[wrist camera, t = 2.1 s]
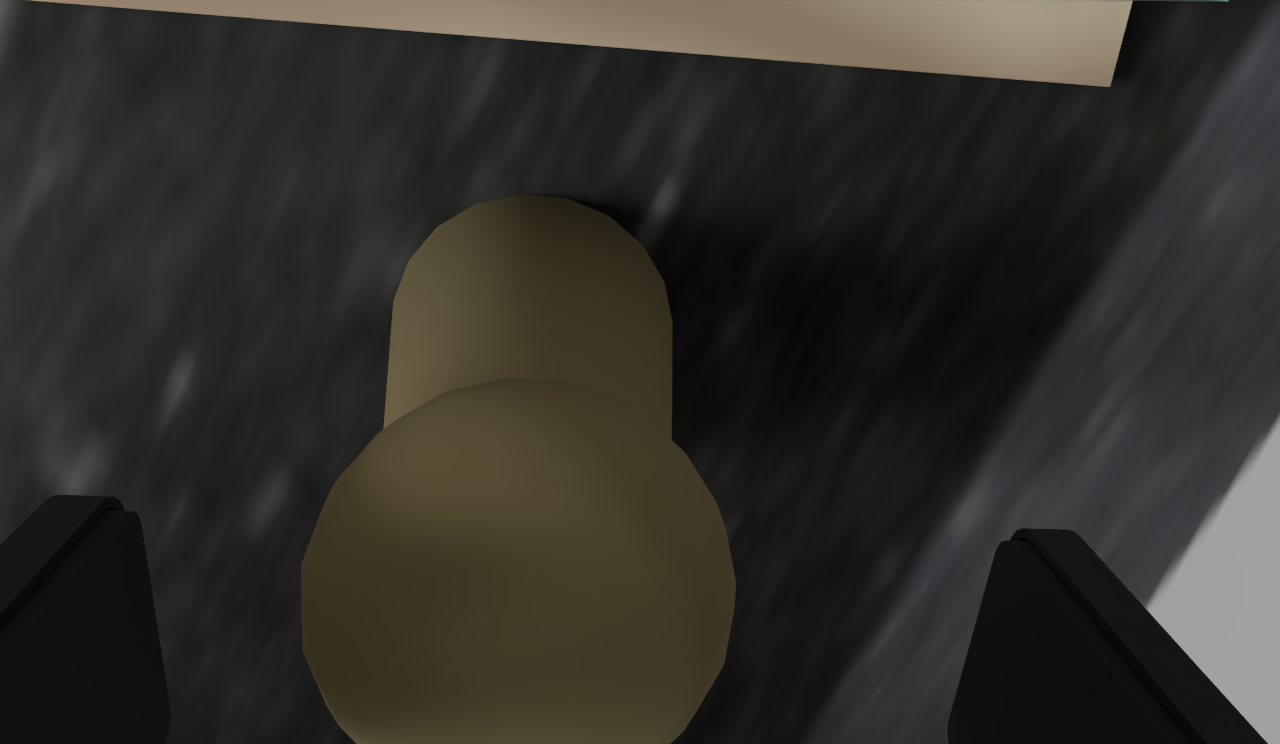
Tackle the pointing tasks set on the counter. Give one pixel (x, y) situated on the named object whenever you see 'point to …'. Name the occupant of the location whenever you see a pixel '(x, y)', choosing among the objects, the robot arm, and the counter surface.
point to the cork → (521, 504)
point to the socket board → (757, 28)
